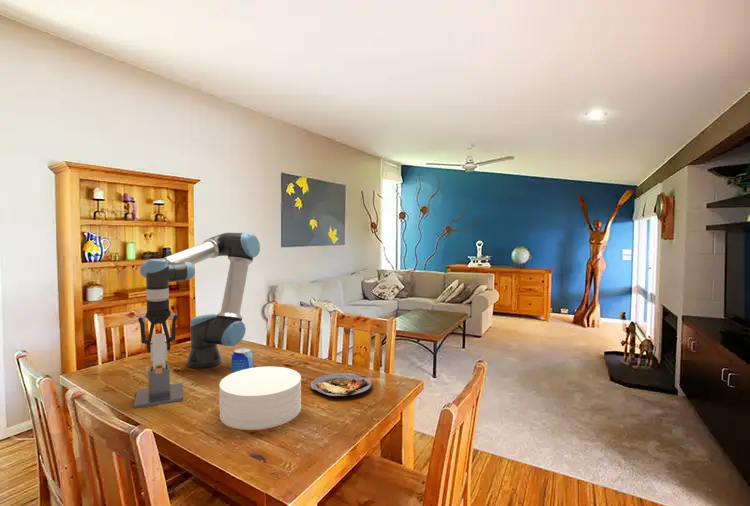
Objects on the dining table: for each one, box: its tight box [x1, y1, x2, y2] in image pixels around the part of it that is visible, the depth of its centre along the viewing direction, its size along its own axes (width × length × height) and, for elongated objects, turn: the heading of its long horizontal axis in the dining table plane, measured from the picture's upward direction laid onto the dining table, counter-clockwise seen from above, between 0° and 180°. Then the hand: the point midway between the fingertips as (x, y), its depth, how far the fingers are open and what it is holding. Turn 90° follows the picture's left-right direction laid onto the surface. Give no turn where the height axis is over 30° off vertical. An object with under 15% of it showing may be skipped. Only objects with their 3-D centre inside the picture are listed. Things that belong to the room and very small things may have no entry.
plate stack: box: [218, 365, 302, 431], centre depth 144 cm, size 28×28×12 cm
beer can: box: [231, 347, 254, 374], centre depth 163 cm, size 8×8×16 cm
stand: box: [133, 363, 184, 409], centre depth 155 cm, size 16×16×12 cm
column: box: [152, 333, 166, 371], centre depth 154 cm, size 5×5×22 cm
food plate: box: [310, 372, 373, 397], centre depth 165 cm, size 25×23×4 cm
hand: (159, 359), depth 154 cm, fingers closed on column, 4 cm apart
